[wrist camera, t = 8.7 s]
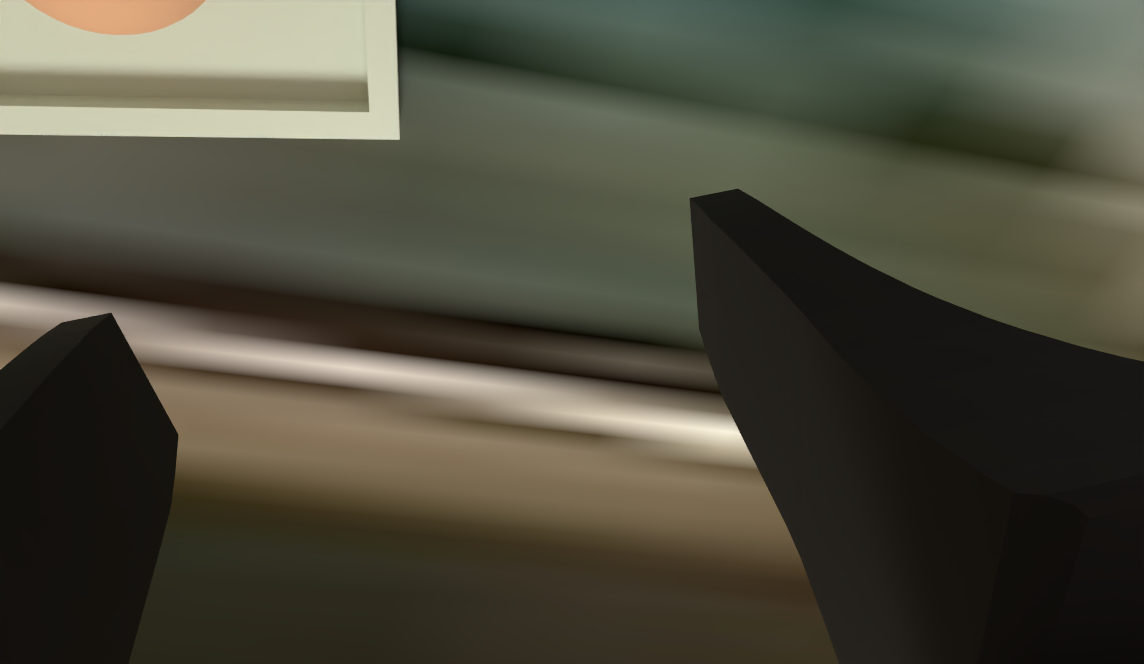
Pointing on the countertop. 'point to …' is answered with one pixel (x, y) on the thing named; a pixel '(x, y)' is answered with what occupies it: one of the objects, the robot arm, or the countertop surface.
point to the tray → (207, 73)
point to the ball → (117, 14)
